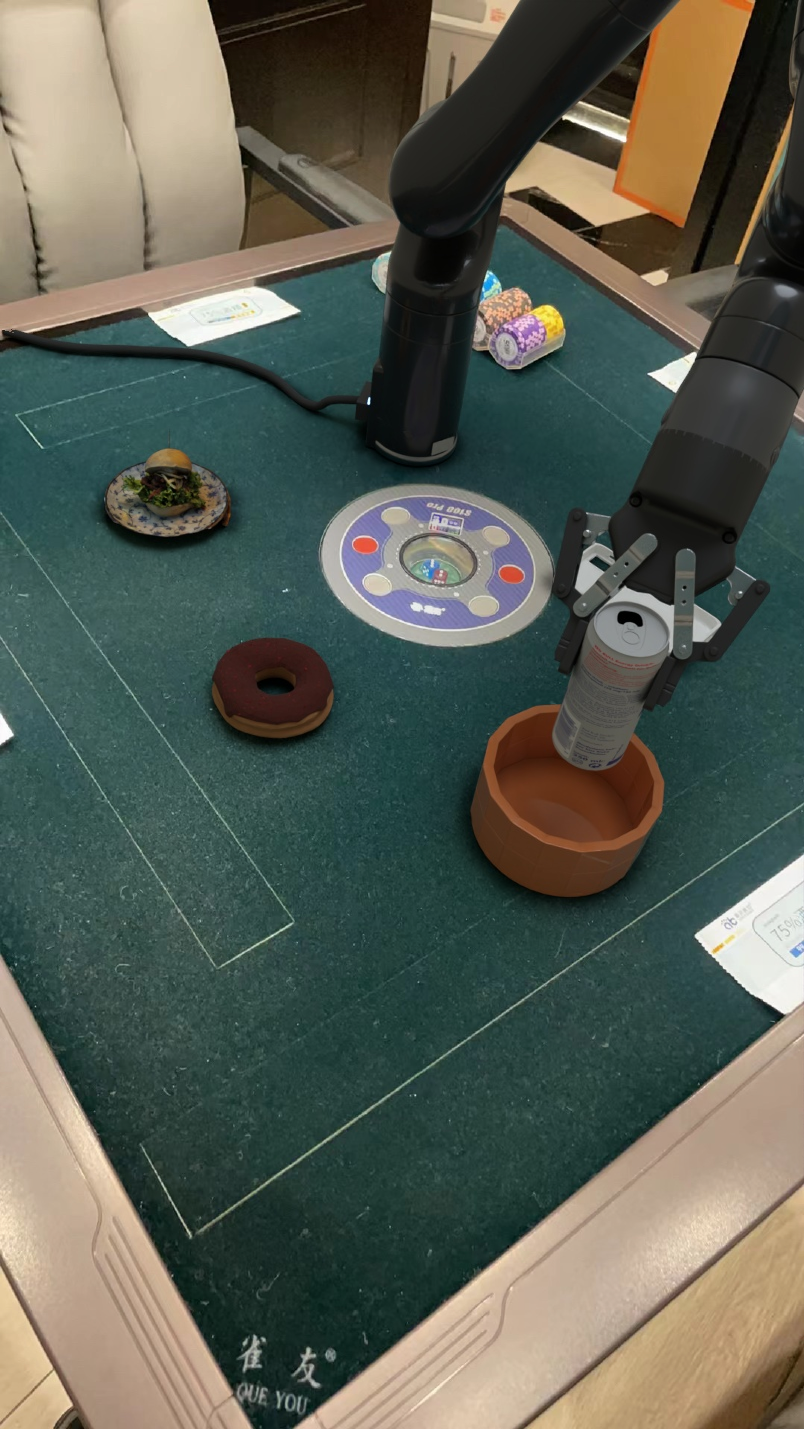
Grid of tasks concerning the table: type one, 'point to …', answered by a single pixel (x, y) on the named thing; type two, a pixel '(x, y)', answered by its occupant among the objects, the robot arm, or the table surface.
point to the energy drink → (610, 684)
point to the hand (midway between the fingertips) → (604, 690)
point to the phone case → (642, 597)
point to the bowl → (562, 809)
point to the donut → (267, 711)
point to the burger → (167, 496)
